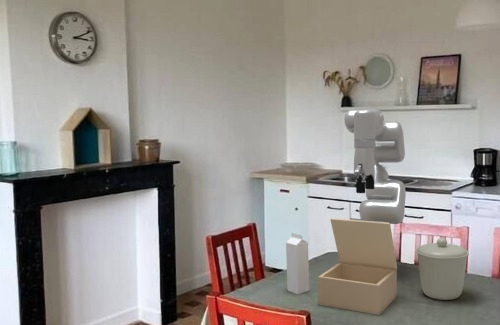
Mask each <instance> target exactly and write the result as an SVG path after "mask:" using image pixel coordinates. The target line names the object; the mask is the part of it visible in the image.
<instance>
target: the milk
mask: <svg viewBox="0 0 500 325" xmlns="http://www.w3.org/2000/svg"><path fill="white" fill-rule="evenodd" d="M285 251H286V252H285V253H286V255H285V256H286V283H287V284H286V286H287V291H288V292H291V293H293V294H295V295H299V294H300V295H301V294H303V293H306V292H309V291H310V269H309V264H310V262H309V242H308V241H306V240H304V239H303V235H302V234H297V233H293V232H291V236H290V238H289V239H288V240H287V241H286V242H285Z"/></svg>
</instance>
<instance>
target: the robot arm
mask: <svg viewBox="0 0 500 325" xmlns="http://www.w3.org/2000/svg"><path fill="white" fill-rule="evenodd" d="M343 119H344V122H343V123H344V125H345V128H346V129H347V131H348V132H349V133H352V134H353V138H354V140H353V142H354V146H353V148H354V156H353V175H354V177H355V187H356V188H355V192H356V193H357V194H365V197H366V199H365V200H363V201H362V202H360V205H359V206H358V208H359V211H358V212H359V219H366V220H379V221H382V222H387V223H390V225H398V224H401V223H402V222H403V221H404V218H405V207H406V195H407V194H406V193H407V192H406V186H405V184H404V182H403V181H402V180H396V179H389V172H388V171H387V170H386V168H385V167H383V166H382V165H381V163H385V164H387V163H389V164H390V163H391V164H392V163H393V164H394V163H395V164H396V163H401V162H403V161H404V159H405V155H406V152H405V150H406V149H405V141H404V140H405V139H404V138H405V137H404V132H403V130H404V129H403V127H402V125H401V123H400V122H399V121H397V120H390V121H388V120H387V121H385V117H384V114H383V113H382V110H380V109H376V108H367V109H349V110H348V111H346V112H345V114H344V118H343ZM379 163H380V164H379ZM364 266H367V265H364ZM372 267H375V266H372ZM380 268H383V267H380Z"/></svg>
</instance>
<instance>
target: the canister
mask: <svg viewBox="0 0 500 325" xmlns="http://www.w3.org/2000/svg"><path fill="white" fill-rule="evenodd" d="M415 253H416V254H417V260H418V269H419V277H420V283H421V289H422V291H423V293H424V295H425V296H427V297H429V298H432V299H435V300H441V301H451V300H455V299H458V298H460V296H461V295H462V292H463V289H464V284H465V276H466V268H467V267H466V266H467V260H468V259H467V258H468V256H469V255H470V251H469V250H468V249H465V248H464V247H463V246H460V245H458V244H455V243H448V240H447V239H446V238H442V237H440V238H437V240H436V242H431V243H430V242H429V243H426V244H422V245H420V246H419V247H417V248H416V249H415Z"/></svg>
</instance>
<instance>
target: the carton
mask: <svg viewBox="0 0 500 325" xmlns="http://www.w3.org/2000/svg"><path fill="white" fill-rule="evenodd" d="M317 288H318V289H317V296H318V305H319V304H320V305H319V306H325V307H332V308H337V309H343V310H349V311H355V312H361V313H367V314H371V315H372V314H373V315H379V316H380V314H382V313H383V312H384V310H386V309H387V308H388V306H390V304H391V303H393V301H394V300H395V299H396V298H397V297H398V269H390V268H380V267H372V266H364V265H359V264H351V263H343V262H340V261H339V263H337V264H335V265H334V266H332V267H331V268H329V269H328V270H326V271H325V272H323V273H321V274H320V275H319V276H317Z"/></svg>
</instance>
